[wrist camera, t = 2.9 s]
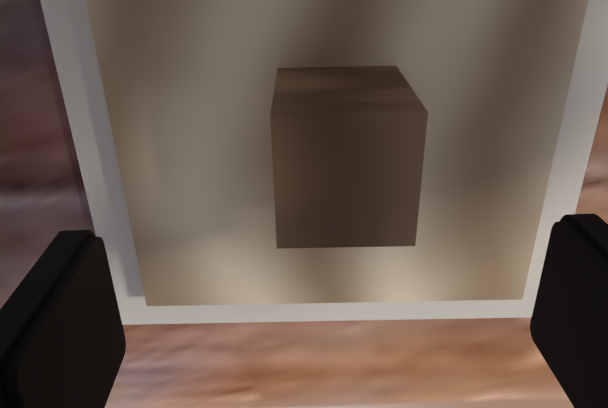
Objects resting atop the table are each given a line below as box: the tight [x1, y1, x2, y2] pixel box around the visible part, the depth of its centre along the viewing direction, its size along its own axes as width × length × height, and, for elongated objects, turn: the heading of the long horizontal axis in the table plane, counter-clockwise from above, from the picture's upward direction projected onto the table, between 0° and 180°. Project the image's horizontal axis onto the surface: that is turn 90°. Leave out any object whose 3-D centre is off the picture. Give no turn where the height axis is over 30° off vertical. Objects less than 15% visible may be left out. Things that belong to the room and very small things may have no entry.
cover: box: [86, 0, 588, 306], centre depth 17 cm, size 16×16×6 cm
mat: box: [40, 0, 608, 325], centre depth 20 cm, size 20×20×1 cm
